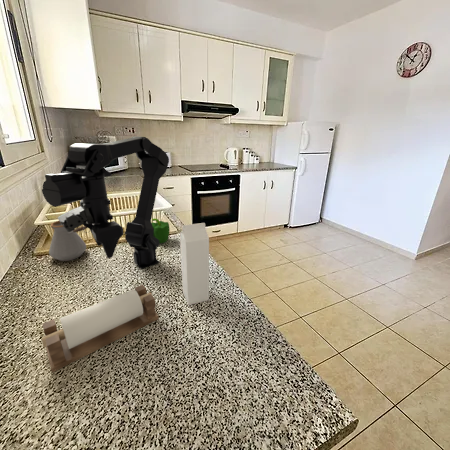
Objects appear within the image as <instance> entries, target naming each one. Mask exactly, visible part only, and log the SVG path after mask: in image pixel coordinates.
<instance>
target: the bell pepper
mask: <svg viewBox="0 0 450 450" xmlns="http://www.w3.org/2000/svg"><path fill="white" fill-rule="evenodd" d="M151 221H152V222H151V223H152V226H153V229H154V234H153V236H154V237H156V238H157V239H158V240H160V242H159V244H164V243H166V242H168V240H169V237H170V232H171V231H170V223H169V222H168V221H163V220H159V219H158V218H155V217H154V218H151ZM155 221H156V222H155Z"/></svg>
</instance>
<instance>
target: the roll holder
mask: <svg viewBox="0 0 450 450" xmlns="http://www.w3.org/2000/svg"><path fill="white" fill-rule="evenodd" d="M134 290H136V292H137V293H138V295H139V297H140V296H142V295H145V294H147V293H148V292H147V288H146V287H145V286H144V284H140V285H138V286H135V287H134ZM151 294H152V293H151ZM151 294H150V295H148V296H146V297H143V300H144V304H142V306H143V315H141V316H139V317H136V318H134V319H132V320H130V321H128V322H126V323H124V324H122V325H119V326H117V327H115V328H113V329H111V330H109V331H107V332H105V333H103V334H100V335H98V336H96V337H94V338H92V339H90V340H88V341H86V342H83V343H81V344H79V345H77V346H75V347H73V348H71V349H69V348H68V344H67V341H66V339H64V340H61V341H60V339H59V335H58V334H56V335H54V336H52V337H49V338H47V339H45V340H46V344H47V347H46V352H47V356H48V362H49V366H50V367H49V368H50V371H51V374H52V373H54V372H56V371H59V370H60V369H62V368H64V367H66V366H68V365H70V364H73V363H74V362H76V361H78V360H80V359H82V358H84V357H86V356H88V355H90V354H92V353H94V352H96V351H98V350H100V349H102V348H104V347H106V346H108V345H110V344H112V343H114V342H117V341H119V340H120V339H122V338H124V337H126V336H128V335H130V334H132V333H134V332H136V331H137V330H140V329H142V328H144V327H146V326H148V325H150V324H152V323H153V322H155V321H158V320H159V319H160V317H159V315H158V313H157V312H156V298H155V296H153V294H152V295H151ZM41 325H42V328H43V333H44V335H45V336H47V335H49V334H52V333H54V332H56V331H58V327H57V323H56V321H55V319H54V318H53V319H50V320H48V321H46V322H44V323H41ZM45 336H44V337H45Z"/></svg>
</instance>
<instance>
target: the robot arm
mask: <svg viewBox="0 0 450 450" xmlns="http://www.w3.org/2000/svg"><path fill="white" fill-rule="evenodd" d="M132 154H135V156H136V157H137V158H138V159H139V161H140V163H141V164H140V166H141V170H142V174H143V179H142V183H141V188H140V194H139V197H138V204H137V208H136V213H135V217H134V218H133V219H132V220H131V222H130V221H127V223H126V225H125V226H126V228H125V231H124V227H123V226H122V225H121V224H119V223H118V222H117V221H115V220H114V216H113V214H111V211H110V206H109V205H112V202H111V200H110V199H109V198H108V193H107V185H106V179H105V178H106V177H111V176H112V172H110V171H108V170H107V169H106V167H107V166H109V165H110V164H111V163H112V162H113V161H114V160H116V159H119V158H123V157H127V156H130V155H132ZM169 162H170V158H169V155H167V152H165V151H164V150H163V149H162V148H161V147H160V146H158V145H156V144H155V143H153V142H152V141H151V140H150V139H149V138H147V137H146V136H132V137H129V138H125V139H119V140H114V141H111V142H106V143H81V142H80V143H77V142H76V143H73V144H71V145H70V146H69V150H68V154H67V157H66V159H65V161H64V164H63V166H62V167H61V170H60V173H46V174H45V175H44V178H45V180H44V181H43V182H42V183H43V184H42V189H41V193H42V196H43V197H44V199H45V201H46V202H47V203H48V204H49V205H50V206H51V207H53V208H55V207H60V206H61V207H62V206H65V205H68V204H72V203H76V202H79V206H78V207H75V208H73V209H71V210H68V211H67V212H64V213H63V214H60V215H59V216H57V221H60V223H61V224H62V225H63V226H64V228H65V229H66V230H67V232H71V231H73V230H75V229H77V228H79V227H82V226H85V227H87V228H86V229H89V231H90V232H91V235H92V237H93V239H94V241H95V244H96V245H97V246H98V247H100V246H102V248H103V250H104V253H105V255H106V258H107V259H112V258H113V256H114V253H115V250H116V248H117V247H118V243H119V240H120V239H121V238H122V236H124V240H125V241H126V242H127V244H128V245H129V247H131V248H133V250H134V251H133V253H132V254H133V263H134V264H135V265H136V266H137V267H138V268H139V269H141V270H142V269H145V268H149V267H151V266H154V265H157V264H159V263H160V261H159V260H158V259H157V250H158V247H160V243H159V242H160V240H158V239H157V238H156V237H154V236H153V234H154V229H153V226H152V223H153V222H152V219H153V218H152V216H153V213H154V212H153V211H154V209H155V208H154V207H155V202H156V197H157V194H158V193H157V192H158V187H159V183H160V182H159V181H160V179H161V178H162V177H163V176H164V174H165V173H166V171H167V170H168V169H167V168H168V166H169ZM112 220H113V221H112Z"/></svg>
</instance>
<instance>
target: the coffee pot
mask: <svg viewBox="0 0 450 450" xmlns="http://www.w3.org/2000/svg"><path fill="white" fill-rule="evenodd" d="M50 228H52V229H53V235H52V238H51V242H50V246H49V249H48V250H49V251H48V255H49V256H50V257H51V258H53V259H55V260H58V261H60V262H69V261H72V260H76V259H78V258H79V257H81V256H82V254H84V253H85V251H86V249H87V244H86V242H85V241H84V240H83V238H82V237H81V236H80V235H79V233H78V232H81V231H83V232H84V233H85V234H86V233H87V234H88V233H89V232H91V231H90V230H89V231H88V232H87V231H85V230H86V229H88V228H87V227H85V226H84V225H81V226H79V227H77V228H75V229H74V230H73V231H71V232H67V230H66V229H65V228H64V226H63V225H62V224H61V223H60V221H59V220H56V221H54V222H51V224H50Z"/></svg>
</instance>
